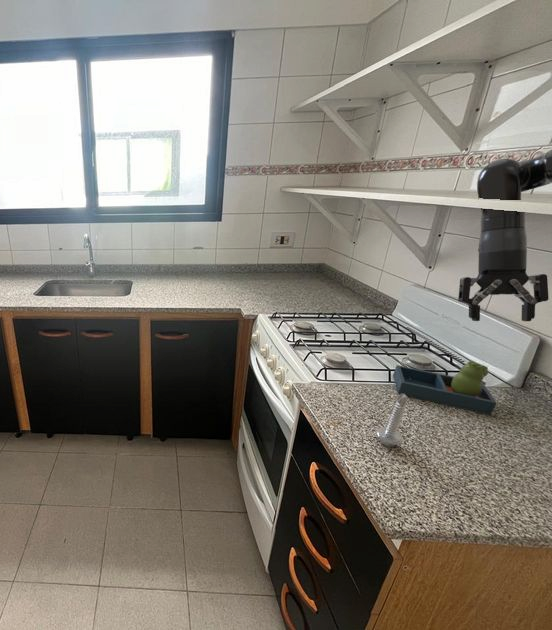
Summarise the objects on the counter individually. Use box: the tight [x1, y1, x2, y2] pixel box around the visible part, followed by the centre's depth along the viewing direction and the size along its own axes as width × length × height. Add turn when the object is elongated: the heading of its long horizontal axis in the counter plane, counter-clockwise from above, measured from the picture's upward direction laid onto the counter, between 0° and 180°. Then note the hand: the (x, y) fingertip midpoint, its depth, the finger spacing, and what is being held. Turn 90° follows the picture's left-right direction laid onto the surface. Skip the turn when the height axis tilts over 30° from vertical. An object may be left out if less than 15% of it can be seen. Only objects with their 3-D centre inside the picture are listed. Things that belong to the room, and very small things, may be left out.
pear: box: [451, 360, 489, 397], centre depth 87 cm, size 6×5×10 cm
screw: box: [374, 394, 408, 448], centre depth 73 cm, size 13×5×5 cm
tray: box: [392, 364, 498, 416], centre depth 90 cm, size 18×10×4 cm, turn 62°
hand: (500, 321), depth 79 cm, fingers open, 8 cm apart
